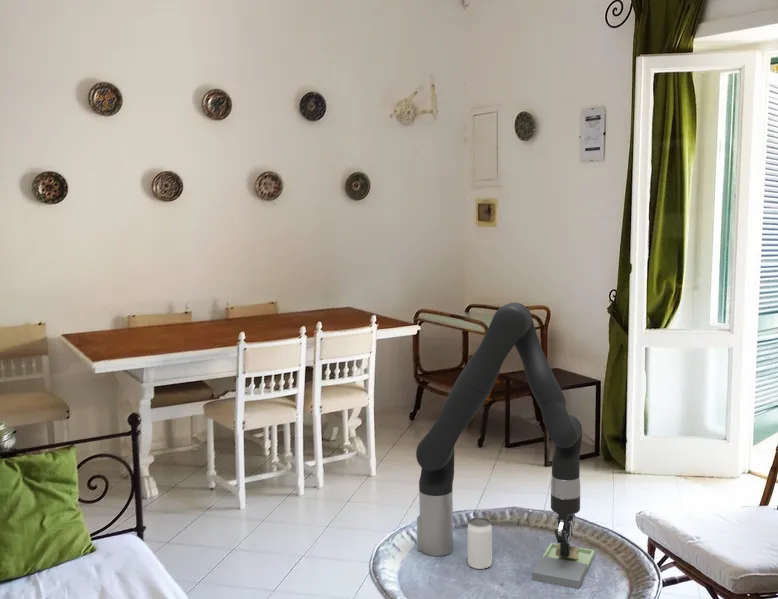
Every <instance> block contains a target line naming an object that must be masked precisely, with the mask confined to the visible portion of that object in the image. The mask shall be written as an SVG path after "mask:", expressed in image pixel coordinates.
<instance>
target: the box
mask: <svg viewBox="0 0 778 599" xmlns="http://www.w3.org/2000/svg"><path fill="white" fill-rule="evenodd" d="M557 544H558V543H553V542H550V544H549V545H548V547H547V548H546V550H545V552H544V553H543V556H544V557H550V558H556V559H561V560H567V561H573V562H578V563H584V564H587V571H588V570H589V568H590V566H591V564H592V562H593V560H594V557H595V551H596V550H595V549H591V548H590V549H589V548H584V547H579V554H578V559H573V558H567V557H561V556H556V546H557Z"/></svg>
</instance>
